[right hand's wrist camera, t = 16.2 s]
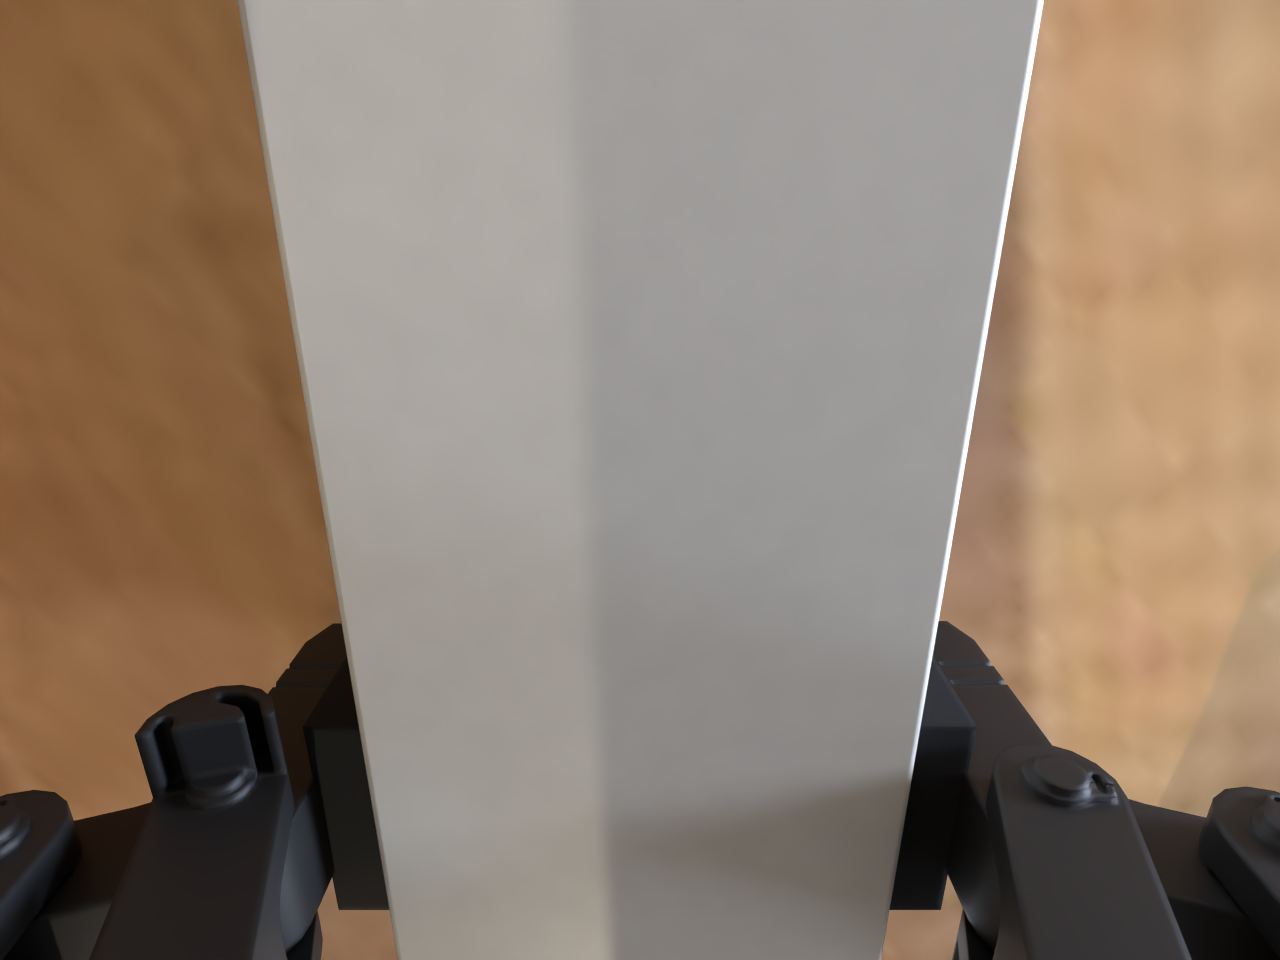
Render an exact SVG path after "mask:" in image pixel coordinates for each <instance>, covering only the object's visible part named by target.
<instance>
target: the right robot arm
mask: <svg viewBox="0 0 1280 960" xmlns="http://www.w3.org/2000/svg"><path fill="white" fill-rule="evenodd" d="M135 739H136V742H137V745H138V749H139V752H140V755H141V759H142V762H143V765H144V769H145V772H146V776H147V779H148V782H149V786H150V789H151V792H152V796H153V800H152V802H151V803H147V804H144V805H141V806H137V807H134V808H129V809H125V810H120V811H116V812H112V813H107V814H103V815H98V816H94V817H90V818H85V819H81V820H76V821H74V820H73V817H72V814H71V812H70V809H69V806H68V803H67V801H66V800H64V799H63V798H62V797H60V796H59V795H58V794H57V793H55V792H48V791H39V790H30V791H24V792H18V793H12V794H6V795H3V796H0V960H321V952H322V941H323V939H322V932H321V926H320V920H319V916H318V911H317V909H318V907H319V905H320V903H321V900H322V898H323V896H324V894H325V892H326V889H327V887H328V885H329V883H330V880H331V878H333V883H334V888H335V893H336V898H337V903H338V908H339V910H390V909H389V903H388V897H387V891H386V885H385V879H384V873H383V867H382V861H381V855H380V849H379V843H378V837H377V831H376V825H375V819H374V814H373V808H372V802H371V796H370V790H369V784H368V778H367V772H366V766H365V760H364V754H363V748H362V742H361V736H360V730H359V724H358V718H357V712H356V706H355V700H354V694H353V688H352V682H351V676H350V670H349V664H348V658H347V652H346V646H345V640H344V634H343V628H342V624H332V625H330V626H329V627H327V628H326V629H325V630H323V631H322V632H320V633H319V634H317V635H316V636H314V637H313V638H312V639H310V640H309V641H307V642H306V643H305V644H304V646H303V647H302V648H301V650H300V651H299V652H298V654H297V655H296V656H295V658H294V659H293V661H292V662H291V663H290V668H289V669H286V670H285V671H284V673H283V674H282V676H281V677H280V678H279V680H278V681H277V682H276V687H273V688H272V689H271V691H270V692H269V693H268V694H266V693H265V692H264V691H263V690H262V689H259V688H254V687H250V686H245V685H233V686H218V687H214V688H210V689H206V690H203V691H199V692H195V693H192V694H190V695H187V696H185V697H183V698H181V699H179V700H176V701H174V702H172V703H170V704H168V705H166V706H165V707H163V708H162V709H161V710H159V711H158V712H157V713H155V714H154V715H152V716H151V717H150V718H148V719H147V720H146V721H145V723H144V724H143V725H142V727H141V728H140V729H139V730H138V732H137V733H136V734H135ZM947 875H948V876H949V878H950V880H951V882H952V884H953V887H954V889H955V891H956V893H957V896H958V898H959V900H960V902H961V905H962V907H963V911H962V916H961V920H960V925H959V930H958V934H957V939H956V944H955V949H954V953H953V958H952V960H1280V793H1278V792H1275V791H1271V790H1265V789H1258V788H1252V787H1239V788H1230V789H1225V790H1224V791H1222V792H1221V793H1220V794H1218V795H1217V796H1216V797H1214V798H1213V801H1212V804H1211V807H1210V809H1209V812H1208V815H1207V818H1204V817H1200V816H1196V815H1191V814H1187V813H1182V812H1178V811H1174V810H1169V809H1165V808H1160V807H1156V806H1151V805H1147V804H1143V803H1140V802H1137V801H1133V800H1130V799H1128V798H1127V796H1126V795H1125V793H1124V792H1123V790H1122V789H1121V787H1120V786H1119V784H1118V783H1117V781H1116V780H1115V779H1114V778H1113V777H1112V776H1110V775H1109V774H1108V773H1107V772H1105V771H1104V770H1103V769H1102V768H1101V767H1099V766H1098V765H1097V764H1096V763H1094V762H1092V761H1090V760H1088V759H1086V758H1084V757H1082V756H1080V755H1078V754H1076V753H1074V752H1072V751H1069V750H1066V749H1062V748H1059V747H1055V746H1052V745H1051V743H1050V742H1049V741H1048V739H1047V738H1046V737H1045V735H1044V734H1043V733H1042V731H1041V730H1040V728H1039V727H1038V726H1037V724H1036V723H1035V722H1034V720H1033V719H1032V718H1031V716H1030V715H1029V714H1028V712H1027V711H1026V710H1025V708H1024V707H1023V705H1022V704H1021V703H1020V701H1019V700H1018V699H1017V697H1016V696H1015V695H1014V693H1013V692H1012V691H1011V689H1010V688H1009V687H1008V685H1004V680H1003V678H1002V677H1001V676H1000V674H999V673H998V672H997V670H996V669H995V668H994V666H991V665H990V661H989V660H988V658H987V657H986V655H985V654H984V653H983V651H982V650H981V649H980V647H979V646H978V645H977V643H976V642H975V641H974V640H973V639H972V638H970V637H969V636H967V635H966V634H965V633H963V632H962V631H960V630H959V629H957V628H956V627H954V626H953V625H951V624H950V623H949V622H947V621H938V626H937V632H936V638H935V644H934V650H933V656H932V662H931V668H930V674H929V679H928V685H927V691H926V697H925V703H924V709H923V715H922V721H921V727H920V732H919V738H918V744H917V750H916V756H915V762H914V768H913V774H912V780H911V785H910V791H909V797H908V803H907V809H906V815H905V821H904V827H903V833H902V839H901V844H900V850H899V856H898V862H897V868H896V874H895V880H894V886H893V892H892V897H891V903H890V909H889V910H941V905H942V900H943V895H944V890H945V885H946V880H947Z"/></svg>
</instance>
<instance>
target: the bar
mask: <svg viewBox="0 0 1280 960" xmlns="http://www.w3.org/2000/svg"><path fill="white" fill-rule="evenodd" d="M237 1H238V7H239V13H240V19H241V25H242V31H243V37H244V43H245V49H246V55H247V61H248V67H249V73H250V79H251V85H252V91H253V97H254V103H255V109H256V114H257V120H258V126H259V132H260V138H261V144H262V150H263V156H264V162H265V168H266V174H267V180H268V186H269V192H270V198H271V204H272V210H273V216H274V222H275V228H276V234H277V240H278V246H279V252H280V258H281V264H282V270H283V276H284V282H285V288H286V294H287V300H288V306H289V312H290V318H291V324H292V330H293V336H294V342H295V347H296V353H297V359H298V365H299V371H300V377H301V383H302V389H303V395H304V401H305V407H306V413H307V419H308V425H309V431H310V437H311V443H312V449H313V455H314V461H315V467H316V473H317V479H318V485H319V491H320V497H321V503H322V509H323V515H324V521H325V527H326V533H327V539H328V545H329V551H330V557H331V563H332V569H333V575H334V581H335V586H336V592H337V598H338V604H339V610H340V616H341V622H342V628H343V634H344V640H345V646H346V652H347V658H348V664H349V670H350V676H351V682H352V688H353V694H354V700H355V706H356V712H357V718H358V724H359V730H360V736H361V742H362V748H363V754H364V760H365V766H366V772H367V778H368V784H369V790H370V796H371V802H372V808H373V814H374V819H375V825H376V831H377V837H378V843H379V849H380V855H381V861H382V867H383V873H384V879H385V885H386V891H387V897H388V903H389V909H390V915H391V921H392V927H393V933H394V939H395V945H396V951H397V957H398V960H881V956H882V950H883V945H884V939H885V933H886V927H887V921H888V915H889V909H890V903H891V897H892V892H893V886H894V880H895V874H896V868H897V862H898V856H899V850H900V844H901V839H902V833H903V827H904V821H905V815H906V809H907V803H908V797H909V791H910V785H911V780H912V774H913V768H914V762H915V756H916V750H917V744H918V738H919V732H920V727H921V721H922V715H923V709H924V703H925V697H926V691H927V685H928V679H929V674H930V668H931V662H932V656H933V650H934V644H935V638H936V632H937V626H938V620H939V615H940V609H941V603H942V597H943V591H944V585H945V579H946V573H947V567H948V562H949V556H950V550H951V544H952V538H953V532H954V526H955V520H956V514H957V509H958V503H959V497H960V491H961V485H962V479H963V473H964V467H965V461H966V455H967V450H968V444H969V438H970V432H971V426H972V420H973V414H974V408H975V402H976V397H977V391H978V385H979V379H980V373H981V367H982V361H983V355H984V349H985V343H986V338H987V332H988V326H989V320H990V314H991V308H992V302H993V296H994V290H995V285H996V279H997V273H998V267H999V261H1000V255H1001V249H1002V243H1003V237H1004V232H1005V226H1006V220H1007V214H1008V208H1009V202H1010V196H1011V190H1012V184H1013V178H1014V173H1015V167H1016V161H1017V155H1018V149H1019V143H1020V137H1021V131H1022V125H1023V120H1024V114H1025V108H1026V102H1027V96H1028V90H1029V84H1030V78H1031V72H1032V67H1033V61H1034V55H1035V49H1036V43H1037V37H1038V31H1039V25H1040V19H1041V13H1042V8H1043V2H1044V0H237Z"/></svg>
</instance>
